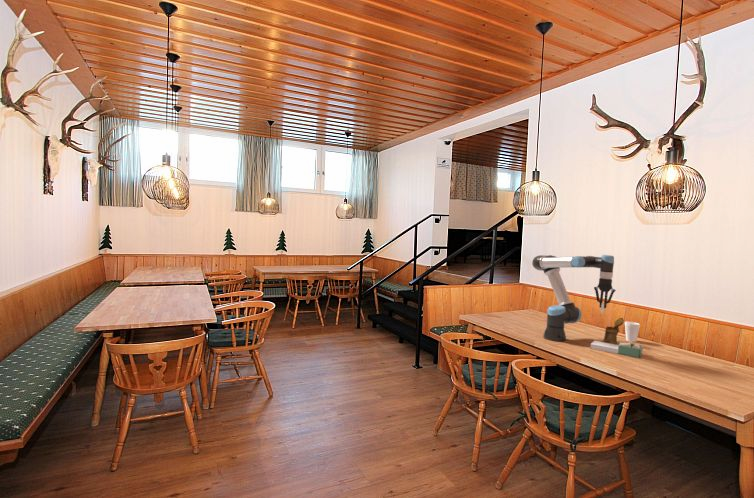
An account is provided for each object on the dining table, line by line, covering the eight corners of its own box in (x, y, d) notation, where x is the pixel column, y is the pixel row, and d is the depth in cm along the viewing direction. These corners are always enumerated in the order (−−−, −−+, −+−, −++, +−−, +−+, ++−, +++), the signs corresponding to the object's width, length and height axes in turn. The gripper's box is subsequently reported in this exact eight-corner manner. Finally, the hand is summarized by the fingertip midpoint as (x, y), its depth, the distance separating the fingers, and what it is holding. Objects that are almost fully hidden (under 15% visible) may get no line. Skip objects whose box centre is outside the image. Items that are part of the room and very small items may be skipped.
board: (590, 348, 272) (590, 343, 272) (594, 344, 282) (594, 340, 282) (617, 353, 262) (618, 349, 262) (620, 349, 272) (621, 345, 272)
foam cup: (625, 338, 305) (627, 321, 304) (640, 341, 298) (641, 323, 297) (622, 340, 298) (623, 322, 297) (636, 343, 291) (638, 325, 291)
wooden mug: (625, 344, 286) (627, 319, 285) (609, 345, 283) (611, 319, 282) (615, 341, 295) (617, 316, 294) (599, 341, 291) (601, 316, 290)
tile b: (635, 345, 259) (639, 349, 258) (636, 343, 264) (640, 347, 262) (627, 350, 261) (631, 354, 260) (629, 348, 266) (632, 352, 265)
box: (617, 353, 262) (618, 345, 262) (620, 349, 272) (621, 341, 272) (639, 358, 255) (640, 349, 255) (642, 354, 264) (642, 345, 264)
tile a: (619, 349, 265) (618, 344, 265) (620, 347, 269) (619, 342, 269) (629, 349, 261) (629, 344, 261) (631, 347, 266) (630, 342, 266)
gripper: (593, 277, 274) (590, 311, 276) (615, 279, 266) (612, 315, 268) (596, 276, 280) (592, 310, 282) (617, 279, 272) (614, 313, 274)
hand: (602, 312), depth 275 cm, fingers closed
